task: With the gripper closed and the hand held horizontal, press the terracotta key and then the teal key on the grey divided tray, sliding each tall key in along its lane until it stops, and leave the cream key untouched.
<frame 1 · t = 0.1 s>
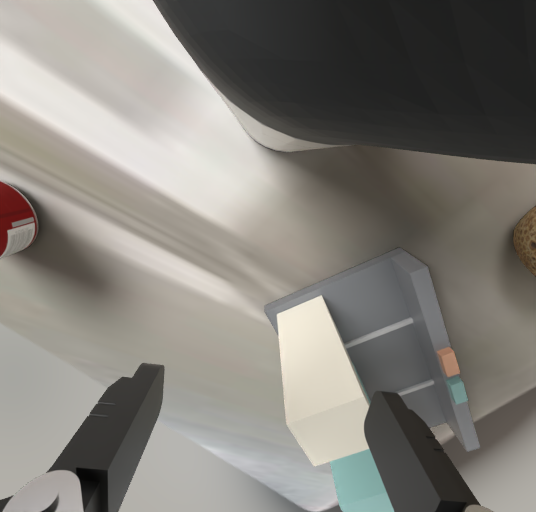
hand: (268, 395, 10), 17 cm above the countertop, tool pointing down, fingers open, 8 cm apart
key cream: (317, 363, 22), point 7 cm above the countertop, slide at 0.0 cm
natural sponge: (525, 220, 26), on the countertop
key teal: (354, 433, 25), point 7 cm above the countertop, slide at 0.0 cm
grey divided tray: (367, 362, 32), on the countertop
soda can: (7, 214, 25), on the countertop
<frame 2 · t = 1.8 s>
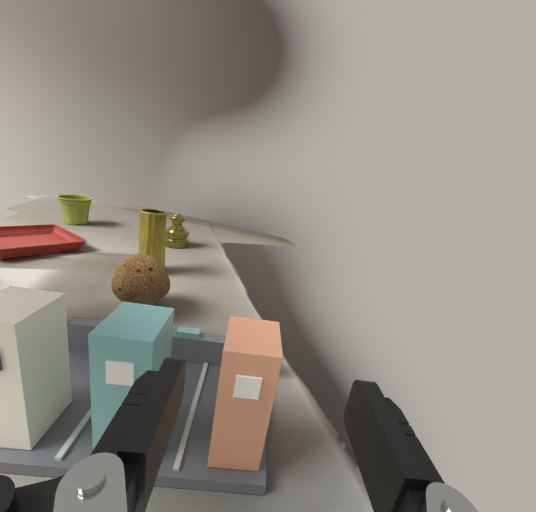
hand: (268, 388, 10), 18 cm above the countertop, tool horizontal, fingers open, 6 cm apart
key cream: (19, 367, 22), point 7 cm above the countertop, slide at 0.0 cm
plant saucer: (29, 248, 65), on the countertop
natural sponge: (139, 308, 47), on the countertop
key terracotta: (244, 392, 24), point 7 cm above the countertop, slide at 0.0 cm
key teal: (134, 380, 23), point 7 cm above the countertop, slide at 0.0 cm
grey divided tray: (150, 406, 29), on the countertop
plant pot: (76, 223, 89), on the countertop
vase: (151, 271, 62), on the countertop
olive glossy tiered piece: (175, 245, 84), on the countertop
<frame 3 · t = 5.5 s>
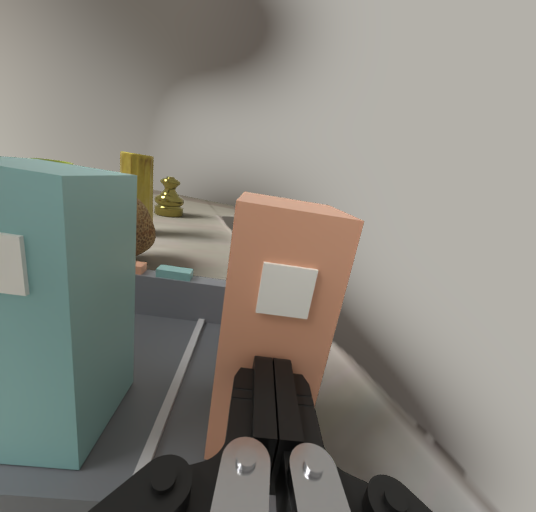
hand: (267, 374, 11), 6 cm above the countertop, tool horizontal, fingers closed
natural sponge: (114, 264, 36), on the countertop
key terracotta: (270, 325, 13), point 7 cm above the countertop, slide at 0.9 cm, touching gripper
key teal: (55, 308, 12), point 7 cm above the countertop, slide at 0.0 cm
grey divided tray: (108, 376, 18), on the countertop
vase: (135, 233, 51), on the countertop
olive glossy tiered piece: (168, 215, 73), on the countertop
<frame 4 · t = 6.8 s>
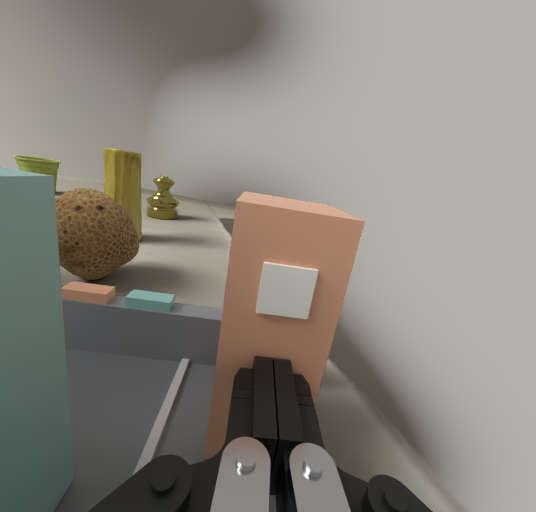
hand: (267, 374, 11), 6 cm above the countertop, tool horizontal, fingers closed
natural sponge: (90, 278, 31), on the countertop
key terracotta: (270, 324, 13), point 7 cm above the countertop, slide at 6.2 cm, touching gripper
grey divided tray: (48, 457, 13), on the countertop
plant pot: (40, 192, 72), on the countertop
vase: (122, 239, 46), on the countertop
olive glossy tiered piece: (162, 217, 68), on the countertop
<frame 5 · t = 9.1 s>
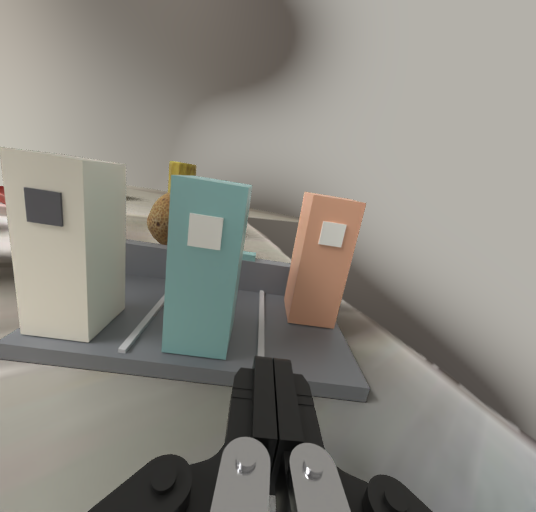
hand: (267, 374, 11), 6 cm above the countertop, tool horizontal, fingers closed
key cream: (75, 245, 19), point 7 cm above the countertop, slide at 0.0 cm
natural sponge: (174, 254, 44), on the countertop
key terracotta: (319, 258, 26), point 7 cm above the countertop, slide at 6.3 cm
key teal: (208, 265, 19), point 7 cm above the countertop, slide at 0.0 cm
grey divided tray: (210, 323, 25), on the countertop
vase: (178, 231, 59), on the countertop
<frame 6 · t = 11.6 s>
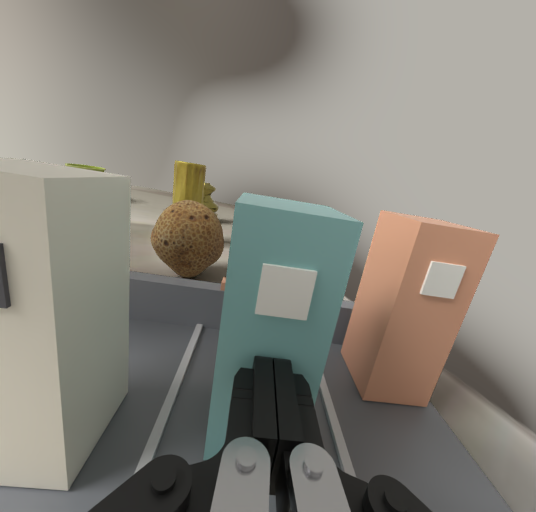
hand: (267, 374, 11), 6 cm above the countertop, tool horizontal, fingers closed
key cream: (43, 318, 11), point 7 cm above the countertop, slide at 0.0 cm
natural sponge: (184, 276, 36), on the countertop
key terracotta: (403, 306, 18), point 7 cm above the countertop, slide at 6.3 cm
key teal: (269, 326, 13), point 7 cm above the countertop, slide at 1.7 cm, touching gripper
grey divided tray: (250, 401, 18), on the countertop
plant pot: (87, 197, 77), on the countertop
vase: (184, 241, 51), on the countertop
olive glossy tiered piece: (203, 221, 73), on the countertop
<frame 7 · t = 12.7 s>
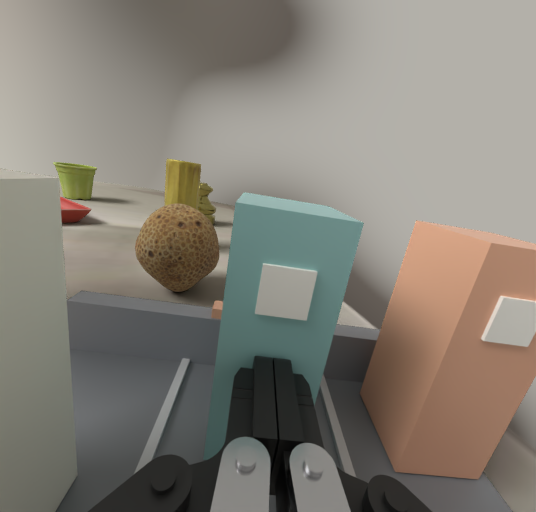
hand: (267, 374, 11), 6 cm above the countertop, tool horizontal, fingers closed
plant saucer: (15, 218, 49), on the countertop
natural sponge: (174, 289, 31), on the countertop
key terracotta: (447, 346, 14), point 7 cm above the countertop, slide at 6.3 cm
key teal: (269, 325, 13), point 7 cm above the countertop, slide at 6.1 cm, touching gripper
grey divided tray: (247, 473, 13), on the countertop
plant pot: (77, 198, 73), on the countertop
vase: (178, 247, 47), on the countertop
olive glossy tiered piece: (199, 223, 68), on the countertop
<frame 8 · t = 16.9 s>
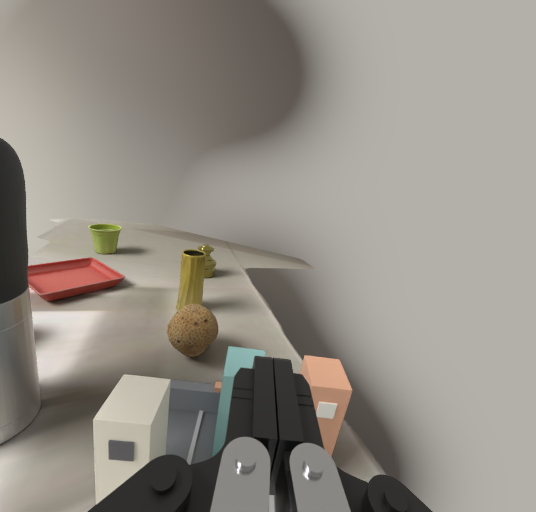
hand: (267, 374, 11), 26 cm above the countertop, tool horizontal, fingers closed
key cream: (134, 447, 25), point 7 cm above the countertop, slide at 0.0 cm
plant saucer: (71, 285, 68), on the countertop
natural sponge: (190, 353, 50), on the countertop
key terracotta: (315, 412, 33), point 7 cm above the countertop, slide at 6.3 cm
key teal: (238, 403, 32), point 7 cm above the countertop, slide at 6.3 cm
grey divided tray: (229, 466, 32), on the countertop
plant pot: (105, 252, 92), on the countertop
vase: (189, 308, 65), on the countertop
olive glossy tiered piece: (203, 274, 87), on the countertop
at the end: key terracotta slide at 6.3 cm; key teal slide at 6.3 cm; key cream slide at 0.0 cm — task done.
